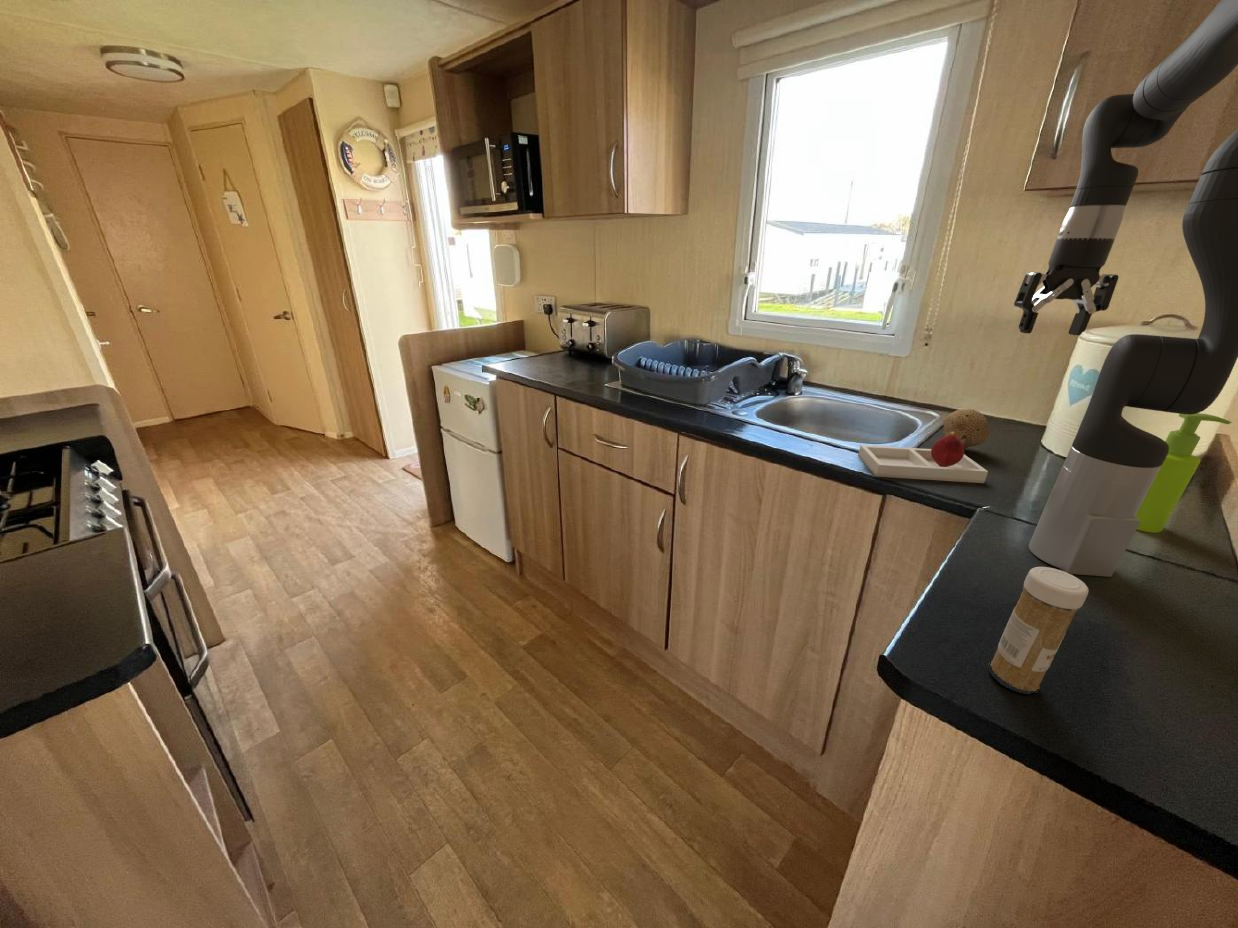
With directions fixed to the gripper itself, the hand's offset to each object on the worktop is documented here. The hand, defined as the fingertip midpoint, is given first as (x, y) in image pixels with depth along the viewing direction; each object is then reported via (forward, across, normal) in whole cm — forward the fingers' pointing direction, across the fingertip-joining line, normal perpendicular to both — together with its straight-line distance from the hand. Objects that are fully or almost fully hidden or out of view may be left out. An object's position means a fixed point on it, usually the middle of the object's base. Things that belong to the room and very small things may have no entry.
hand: (1049, 333), depth 89 cm
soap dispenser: (+29, +14, -17) cm, 37 cm away
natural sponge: (+29, 0, +15) cm, 33 cm away
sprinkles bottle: (+30, -31, -56) cm, 70 cm away
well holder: (+29, -15, +2) cm, 33 cm away
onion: (+29, -10, +2) cm, 31 cm away
